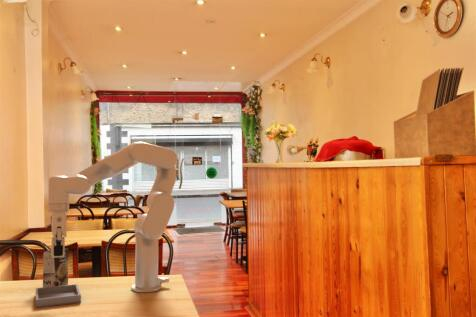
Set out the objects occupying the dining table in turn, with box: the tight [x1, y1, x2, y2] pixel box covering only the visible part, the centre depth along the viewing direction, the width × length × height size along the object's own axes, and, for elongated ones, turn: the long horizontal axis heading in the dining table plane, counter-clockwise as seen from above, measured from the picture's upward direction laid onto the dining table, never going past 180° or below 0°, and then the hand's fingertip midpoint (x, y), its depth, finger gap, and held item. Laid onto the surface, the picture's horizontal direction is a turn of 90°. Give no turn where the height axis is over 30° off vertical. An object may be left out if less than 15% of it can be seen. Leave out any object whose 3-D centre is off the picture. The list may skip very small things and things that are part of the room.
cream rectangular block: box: [50, 236, 66, 258], centre depth 173 cm, size 4×4×7 cm
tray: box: [35, 283, 82, 309], centre depth 173 cm, size 16×16×3 cm
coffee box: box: [42, 247, 69, 288], centre depth 188 cm, size 9×6×16 cm
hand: (57, 253), depth 173 cm, fingers closed on cream rectangular block, 4 cm apart
